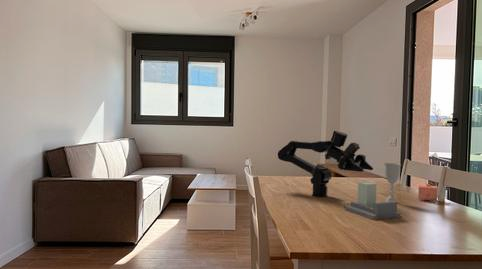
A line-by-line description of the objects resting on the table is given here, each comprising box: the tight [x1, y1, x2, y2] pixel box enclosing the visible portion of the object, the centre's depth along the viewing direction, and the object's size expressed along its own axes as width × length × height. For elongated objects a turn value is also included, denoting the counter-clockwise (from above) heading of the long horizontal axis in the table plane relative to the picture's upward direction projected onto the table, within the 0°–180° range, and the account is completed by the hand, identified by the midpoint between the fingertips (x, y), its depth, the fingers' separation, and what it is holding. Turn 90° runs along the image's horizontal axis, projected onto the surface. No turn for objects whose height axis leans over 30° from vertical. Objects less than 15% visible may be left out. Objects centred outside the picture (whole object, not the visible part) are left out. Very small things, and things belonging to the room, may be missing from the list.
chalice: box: [383, 162, 402, 203], centre depth 159 cm, size 7×7×18 cm
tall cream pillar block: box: [357, 181, 377, 208], centre depth 140 cm, size 5×5×10 cm
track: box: [344, 200, 402, 221], centre depth 137 cm, size 16×14×6 cm
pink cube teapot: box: [417, 183, 438, 203], centre depth 163 cm, size 8×12×8 cm, turn 149°
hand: (367, 169), depth 152 cm, fingers open, 9 cm apart
